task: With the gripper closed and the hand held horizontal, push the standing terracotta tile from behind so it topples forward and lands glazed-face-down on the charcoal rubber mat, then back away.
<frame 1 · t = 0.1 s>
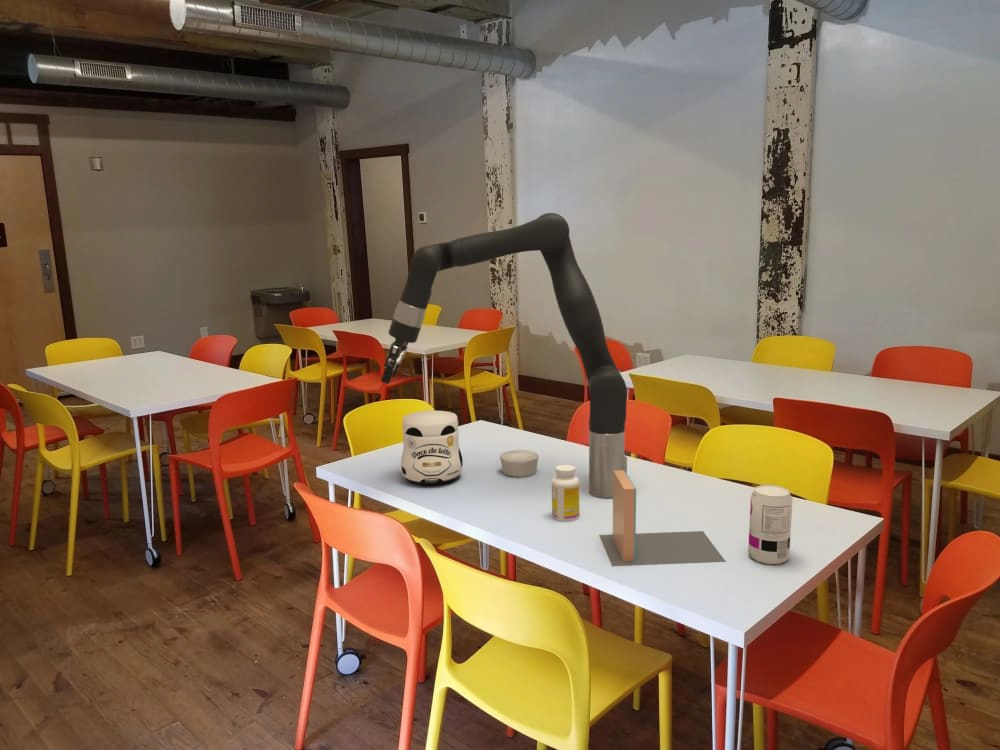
hand: (388, 379, 199), 31 cm above the table, tool tilted 20°, fingers open, 8 cm apart
supplement can: (768, 558, 163), on the table
milk container: (432, 479, 217), on the table
ramekin: (519, 473, 221), on the table
tile: (623, 549, 167), resting on mat
supplement bottle: (565, 518, 186), on the table
mat: (659, 549, 168), on the table
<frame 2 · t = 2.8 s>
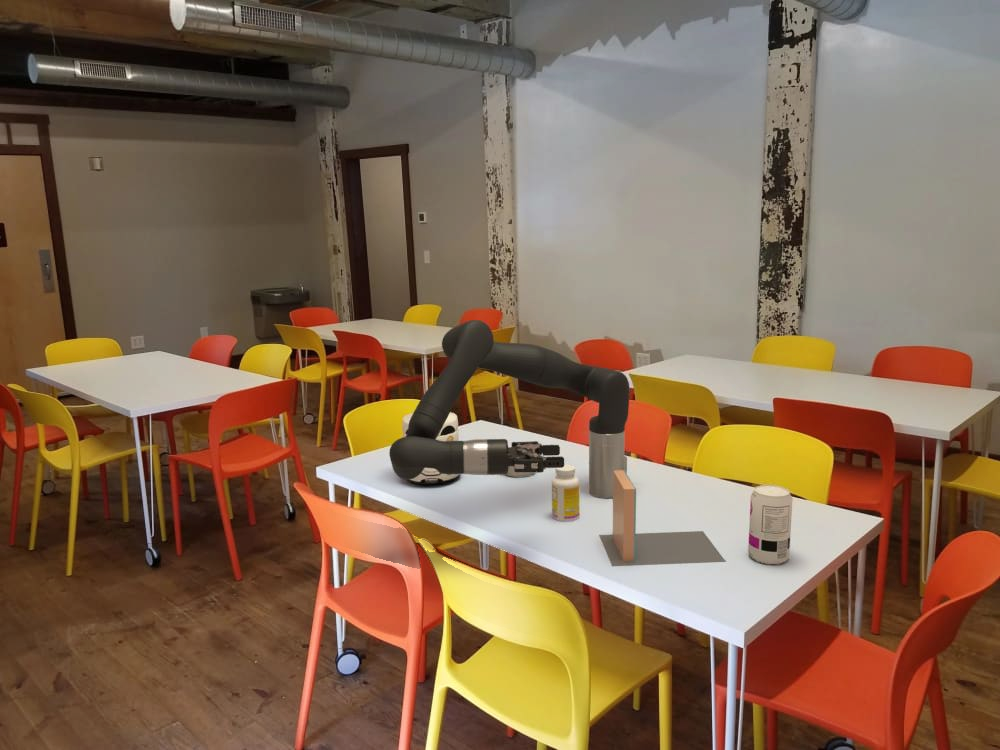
hand: (561, 455, 162), 22 cm above the table, tool horizontal, fingers open, 8 cm apart
nothing on the table moved.
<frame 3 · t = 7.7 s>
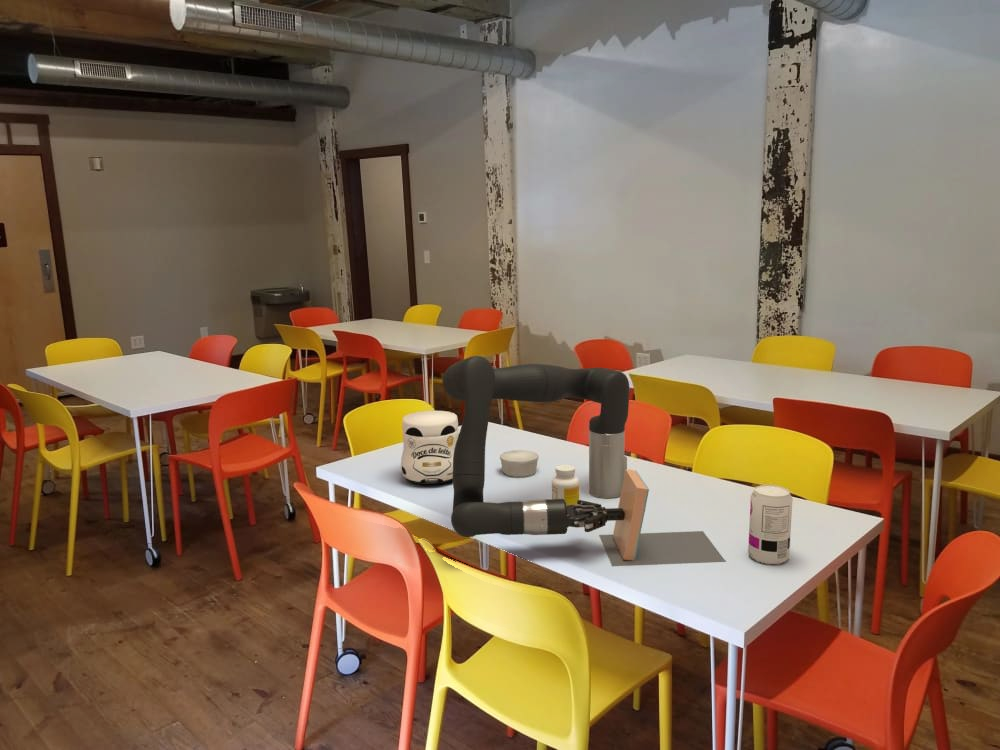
hand: (623, 513, 166), 9 cm above the table, tool horizontal, fingers closed
tile: (623, 548, 167), point 1 cm above the table, tilted 10°, touching mat
everything else where it was.
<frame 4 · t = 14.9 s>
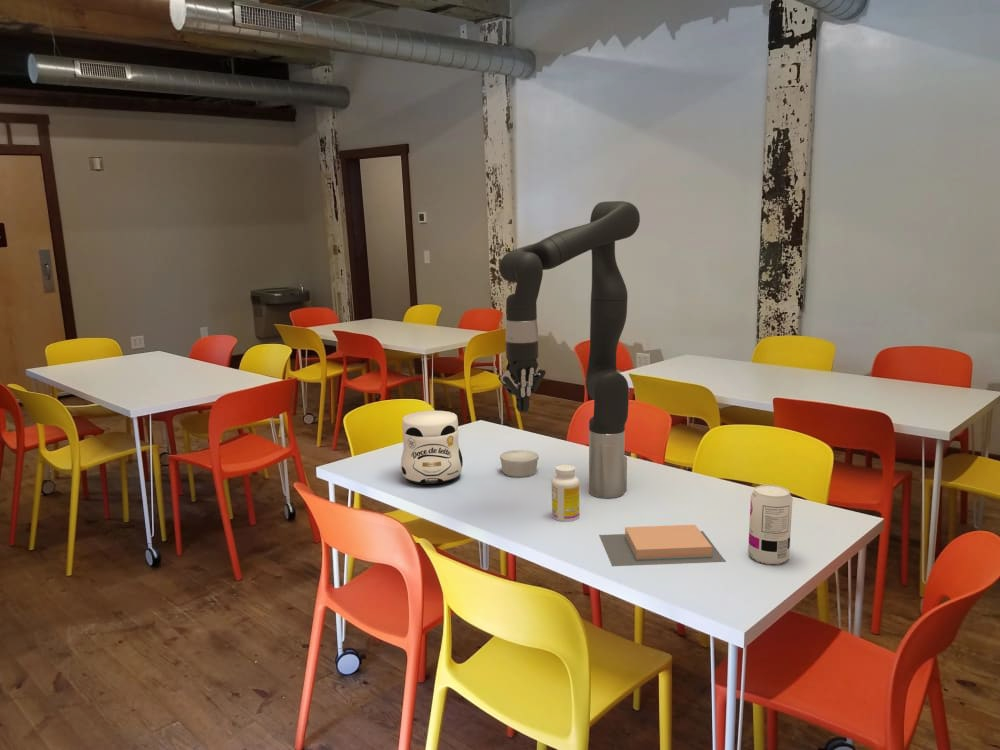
hand: (523, 411, 181), 27 cm above the table, tool pointing down, fingers closed
tile: (630, 543, 167), point 2 cm above the table, tilted 90°, touching mat
everything else where it was.
at the end: tile tilted 90°; tile point 1.6 cm above the table; tile 6.4 cm from the mat (horizontally) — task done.
